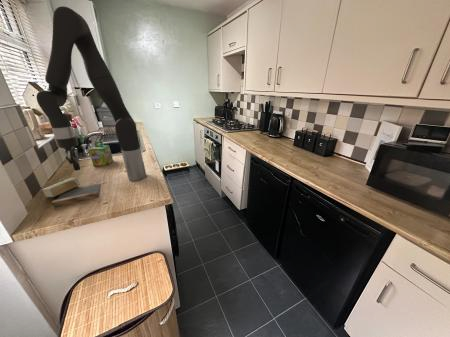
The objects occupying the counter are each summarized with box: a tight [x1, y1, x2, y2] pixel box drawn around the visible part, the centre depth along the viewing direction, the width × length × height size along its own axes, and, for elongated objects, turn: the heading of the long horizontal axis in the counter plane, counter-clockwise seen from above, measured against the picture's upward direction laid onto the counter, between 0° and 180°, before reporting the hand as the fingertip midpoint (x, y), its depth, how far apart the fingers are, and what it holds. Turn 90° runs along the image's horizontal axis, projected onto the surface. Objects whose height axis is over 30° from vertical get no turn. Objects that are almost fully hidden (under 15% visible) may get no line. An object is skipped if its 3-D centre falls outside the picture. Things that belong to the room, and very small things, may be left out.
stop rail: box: [51, 191, 99, 208], centre depth 81 cm, size 16×2×2 cm, turn 119°
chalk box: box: [88, 141, 114, 167], centre depth 119 cm, size 9×9×15 cm
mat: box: [56, 183, 101, 200], centre depth 87 cm, size 16×12×1 cm
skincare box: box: [41, 177, 81, 198], centre depth 88 cm, size 6×4×12 cm
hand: (77, 169), depth 92 cm, fingers closed
